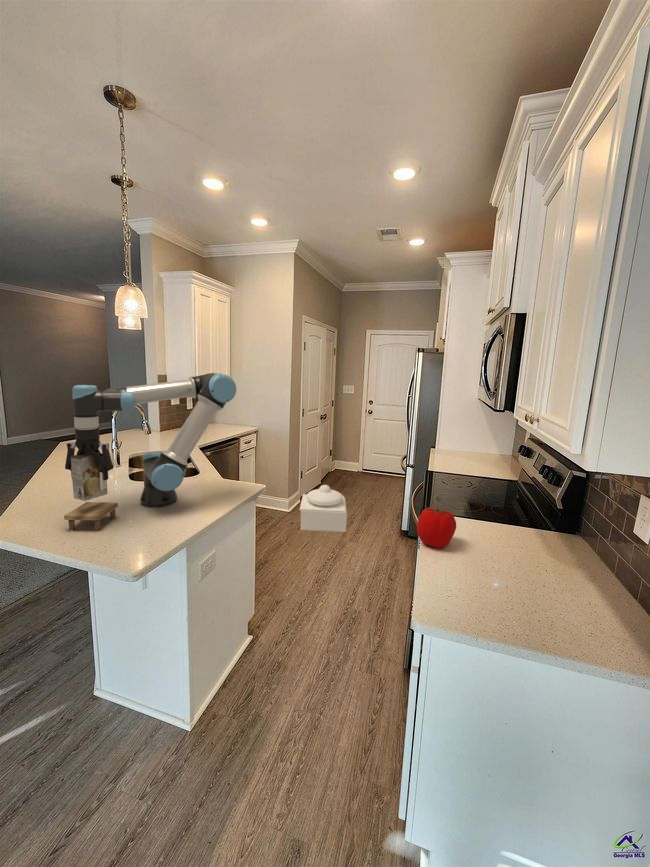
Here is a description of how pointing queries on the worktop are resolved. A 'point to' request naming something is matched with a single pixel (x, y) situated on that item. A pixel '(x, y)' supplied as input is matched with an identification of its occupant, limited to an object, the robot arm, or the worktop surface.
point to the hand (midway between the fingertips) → (90, 488)
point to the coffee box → (86, 477)
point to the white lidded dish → (323, 510)
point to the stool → (91, 513)
